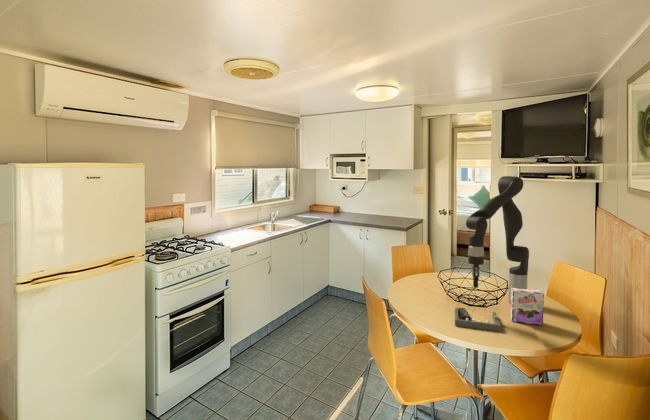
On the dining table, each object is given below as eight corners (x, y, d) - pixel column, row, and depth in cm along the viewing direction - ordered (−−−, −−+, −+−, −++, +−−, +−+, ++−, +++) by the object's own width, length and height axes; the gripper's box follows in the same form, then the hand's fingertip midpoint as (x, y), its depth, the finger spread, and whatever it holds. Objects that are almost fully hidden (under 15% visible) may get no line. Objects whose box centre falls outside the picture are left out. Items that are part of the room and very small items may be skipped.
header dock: (454, 313, 183) (454, 305, 183) (495, 318, 176) (496, 310, 176) (454, 325, 165) (455, 317, 165) (500, 332, 158) (501, 323, 157)
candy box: (511, 322, 171) (512, 290, 170) (510, 318, 176) (510, 287, 176) (543, 325, 166) (544, 293, 165) (540, 321, 171) (541, 290, 170)
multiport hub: (461, 320, 173) (461, 316, 173) (456, 311, 187) (456, 307, 187) (470, 321, 172) (470, 317, 172) (464, 312, 186) (464, 308, 186)
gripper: (467, 252, 182) (467, 283, 183) (468, 256, 170) (468, 290, 171) (483, 252, 179) (482, 284, 180) (484, 257, 167) (484, 291, 168)
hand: (475, 287), depth 175 cm, fingers closed
